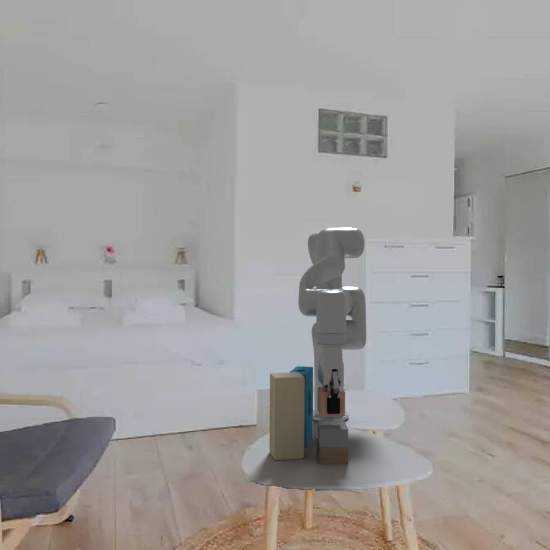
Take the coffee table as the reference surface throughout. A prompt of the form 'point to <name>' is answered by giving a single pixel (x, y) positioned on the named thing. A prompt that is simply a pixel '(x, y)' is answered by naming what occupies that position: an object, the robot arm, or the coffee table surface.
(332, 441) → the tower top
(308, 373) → the block
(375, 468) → the coffee table surface
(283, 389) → the cream box
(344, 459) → the tower bottom
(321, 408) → the terracotta cube
